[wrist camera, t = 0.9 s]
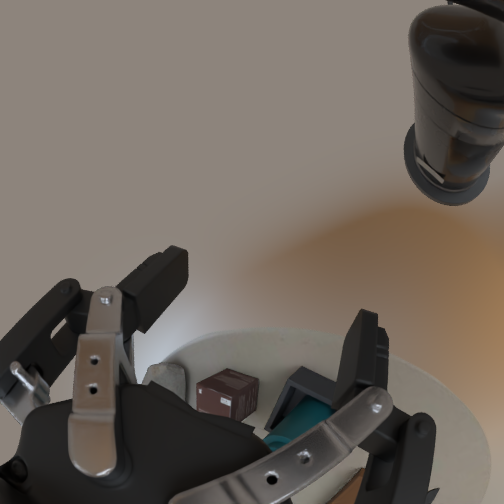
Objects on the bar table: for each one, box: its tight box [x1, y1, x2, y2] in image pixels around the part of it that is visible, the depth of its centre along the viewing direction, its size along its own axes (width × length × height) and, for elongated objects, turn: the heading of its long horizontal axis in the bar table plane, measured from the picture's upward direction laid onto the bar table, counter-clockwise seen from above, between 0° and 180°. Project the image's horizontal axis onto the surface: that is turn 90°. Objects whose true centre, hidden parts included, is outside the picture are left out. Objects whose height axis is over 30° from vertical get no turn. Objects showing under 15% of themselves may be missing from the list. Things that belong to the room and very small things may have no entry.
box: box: [196, 369, 259, 422], centre depth 35 cm, size 6×6×7 cm
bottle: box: [263, 395, 336, 452], centre depth 25 cm, size 5×5×16 cm
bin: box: [264, 366, 338, 432], centre depth 30 cm, size 9×9×5 cm
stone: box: [142, 363, 186, 401], centre depth 43 cm, size 24×4×10 cm
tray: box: [326, 468, 365, 504], centre depth 25 cm, size 14×10×2 cm
